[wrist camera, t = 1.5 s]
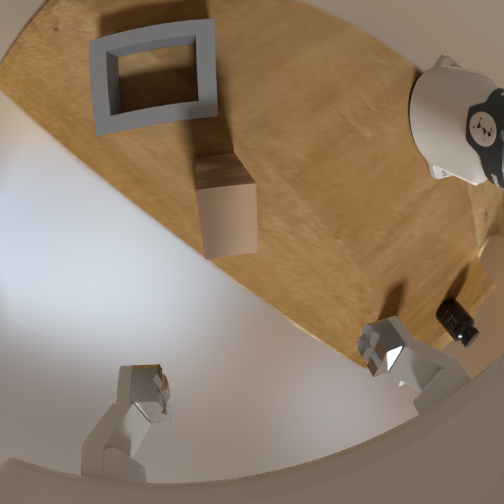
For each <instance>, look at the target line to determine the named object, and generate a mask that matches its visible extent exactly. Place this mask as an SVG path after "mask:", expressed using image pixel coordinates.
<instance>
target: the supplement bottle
mask: <svg viewBox="0 0 504 504" xmlns="http://www.w3.org/2000/svg"><path fill="white" fill-rule="evenodd" d="M436 318H437V320H438V321H439V322H440V323H441V325H442V326H443V327H444V328H445V329H446V331H447V332H448V333H449V334H450V335H451V337H452V338H453V339H454V340H455V341H462V344H463V345H464V346H465V347H468V346H470V345H471V344H472V343H473V342H474V341H475V339H476V338H477V337H478V335H479V331H478V330H477V329H476V327H474V319H473V318H472V317H471V316H470V315H469V313H468V312H467V311H466V310H465V309H464V308H463V307H462V306H461V305H460V304H459V303H458V302H457V301H456V299H454V298H450V299H448V300H447V301H445V302H444V303H443V304H442V306H441V307H440V308H439V310H438V312H437V314H436Z"/></svg>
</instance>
